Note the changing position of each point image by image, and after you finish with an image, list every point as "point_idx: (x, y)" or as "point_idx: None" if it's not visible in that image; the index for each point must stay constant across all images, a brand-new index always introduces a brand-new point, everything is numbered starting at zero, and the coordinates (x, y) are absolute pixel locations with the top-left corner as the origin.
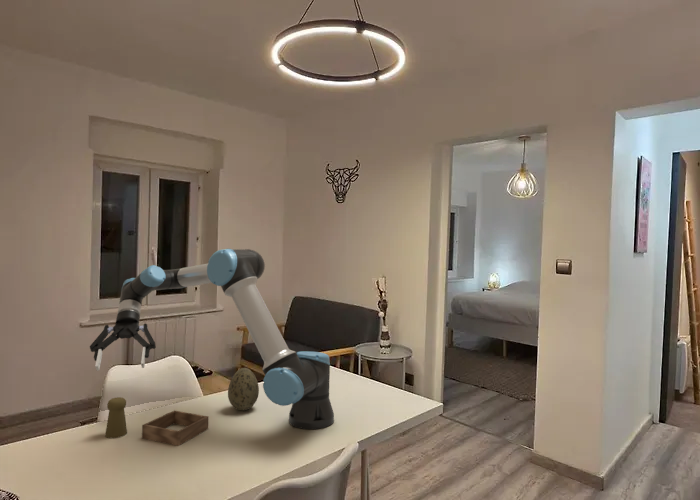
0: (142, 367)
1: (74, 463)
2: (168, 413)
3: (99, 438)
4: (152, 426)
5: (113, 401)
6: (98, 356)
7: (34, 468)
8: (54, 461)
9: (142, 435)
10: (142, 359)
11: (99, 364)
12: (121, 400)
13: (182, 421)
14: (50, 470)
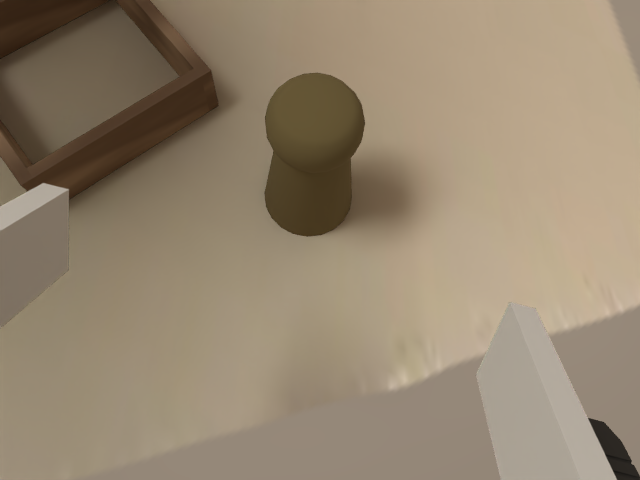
0: (61, 261)
1: (442, 18)
2: (63, 156)
3: (372, 182)
4: (175, 37)
5: (336, 81)
6: (561, 394)
7: (552, 39)
8: (504, 59)
9: (216, 97)
10: (24, 206)
11: (499, 387)
12: (293, 80)
13: (21, 152)
14: (503, 6)
